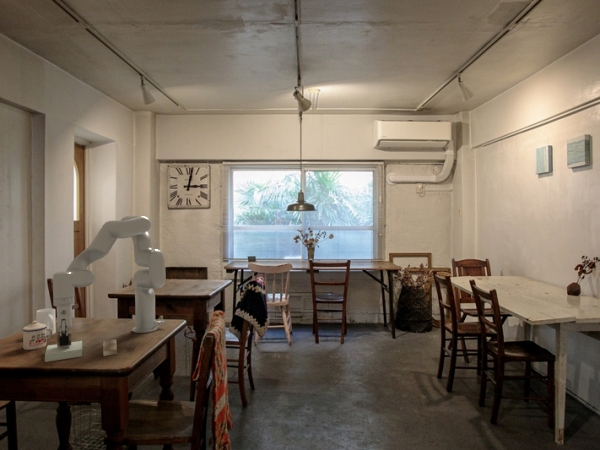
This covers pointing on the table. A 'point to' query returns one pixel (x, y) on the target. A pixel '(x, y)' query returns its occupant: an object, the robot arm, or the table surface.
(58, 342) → the walnut block
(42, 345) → the teacup with lid
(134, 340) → the table surface
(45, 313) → the mug
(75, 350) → the base board
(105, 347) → the ash block
